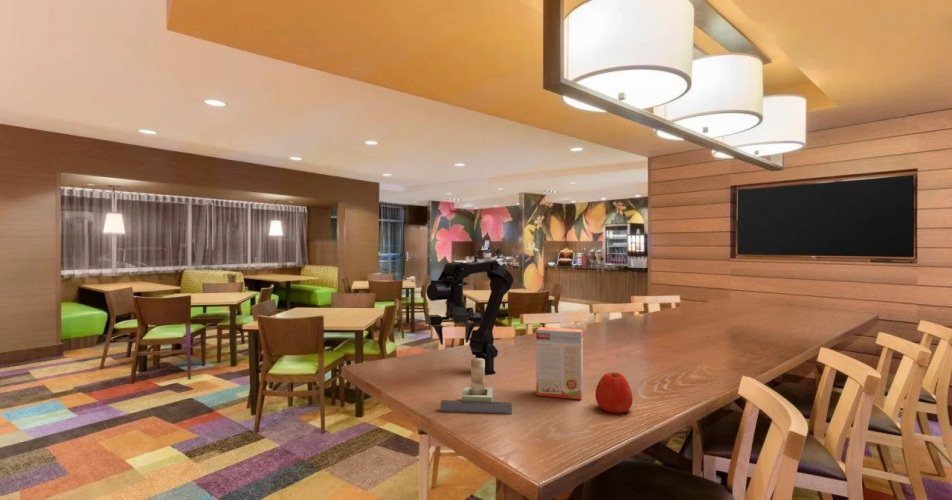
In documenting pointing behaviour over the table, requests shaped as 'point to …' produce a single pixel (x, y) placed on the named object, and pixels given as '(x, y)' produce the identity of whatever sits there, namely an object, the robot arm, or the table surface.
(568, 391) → the cracker box
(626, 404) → the apple
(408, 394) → the table surface
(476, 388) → the birch dowel
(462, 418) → the table surface
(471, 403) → the rail
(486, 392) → the socket block
